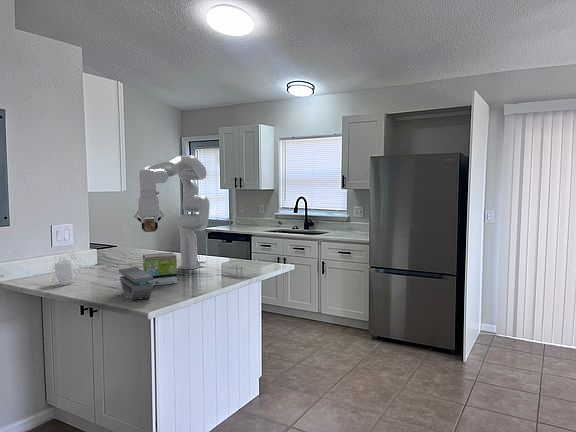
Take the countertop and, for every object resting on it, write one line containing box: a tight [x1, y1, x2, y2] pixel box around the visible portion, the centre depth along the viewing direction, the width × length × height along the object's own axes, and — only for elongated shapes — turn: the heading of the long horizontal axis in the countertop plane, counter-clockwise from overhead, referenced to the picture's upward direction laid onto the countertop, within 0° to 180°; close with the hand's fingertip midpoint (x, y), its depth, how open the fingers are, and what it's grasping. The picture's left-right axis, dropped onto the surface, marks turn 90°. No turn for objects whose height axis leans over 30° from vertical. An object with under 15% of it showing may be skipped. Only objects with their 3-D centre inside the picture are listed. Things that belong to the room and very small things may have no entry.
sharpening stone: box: [118, 266, 154, 301], centre depth 199 cm, size 25×8×11 cm, turn 35°
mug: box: [54, 260, 82, 286], centre depth 224 cm, size 12×8×11 cm
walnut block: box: [144, 218, 156, 233], centre depth 220 cm, size 5×5×6 cm
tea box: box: [142, 252, 178, 286], centre depth 223 cm, size 15×10×15 cm
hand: (150, 230), depth 220 cm, fingers closed on walnut block, 5 cm apart
